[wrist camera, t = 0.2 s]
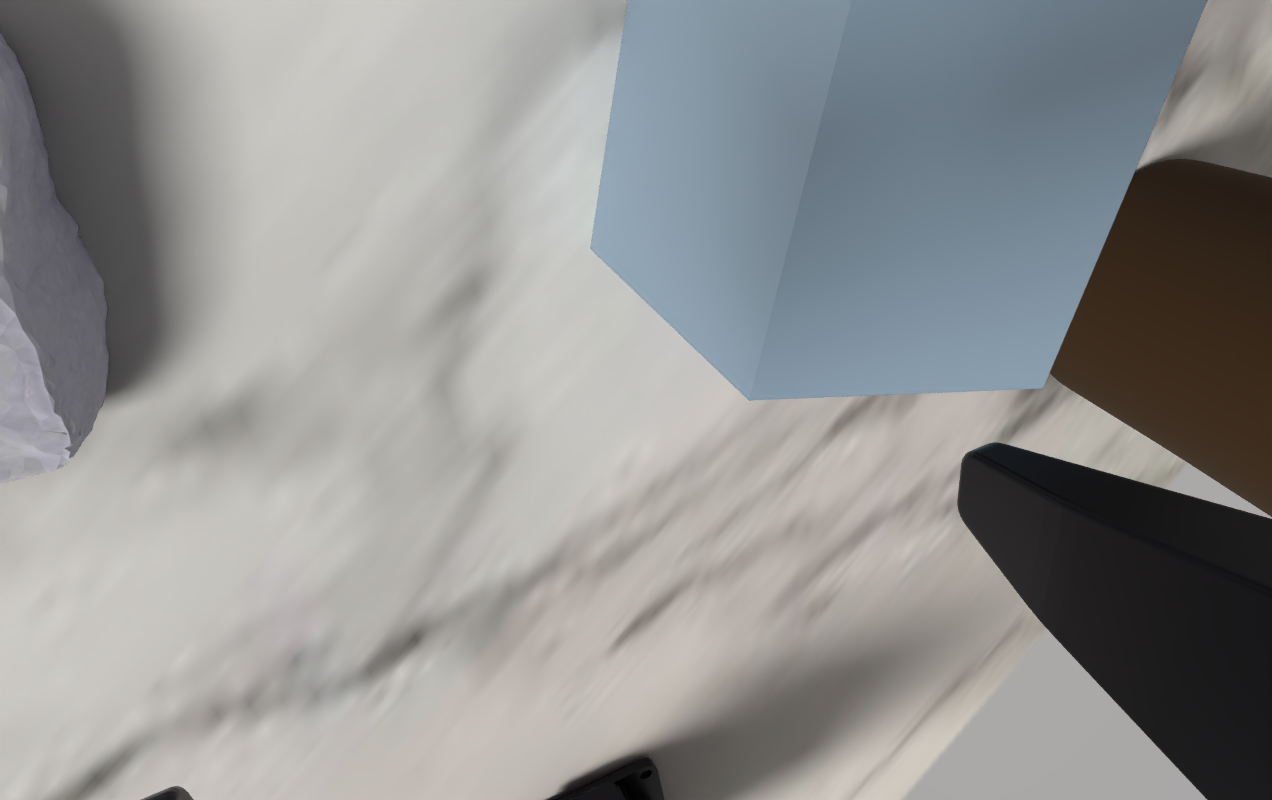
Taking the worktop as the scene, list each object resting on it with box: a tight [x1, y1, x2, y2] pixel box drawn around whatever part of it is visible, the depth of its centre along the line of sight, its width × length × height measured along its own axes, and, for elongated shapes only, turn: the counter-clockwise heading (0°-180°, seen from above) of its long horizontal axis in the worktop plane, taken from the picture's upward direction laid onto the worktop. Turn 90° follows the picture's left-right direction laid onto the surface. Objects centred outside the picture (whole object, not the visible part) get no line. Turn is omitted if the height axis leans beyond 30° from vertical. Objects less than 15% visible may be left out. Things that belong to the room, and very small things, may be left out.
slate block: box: [590, 0, 1207, 400], centre depth 20 cm, size 9×8×9 cm
